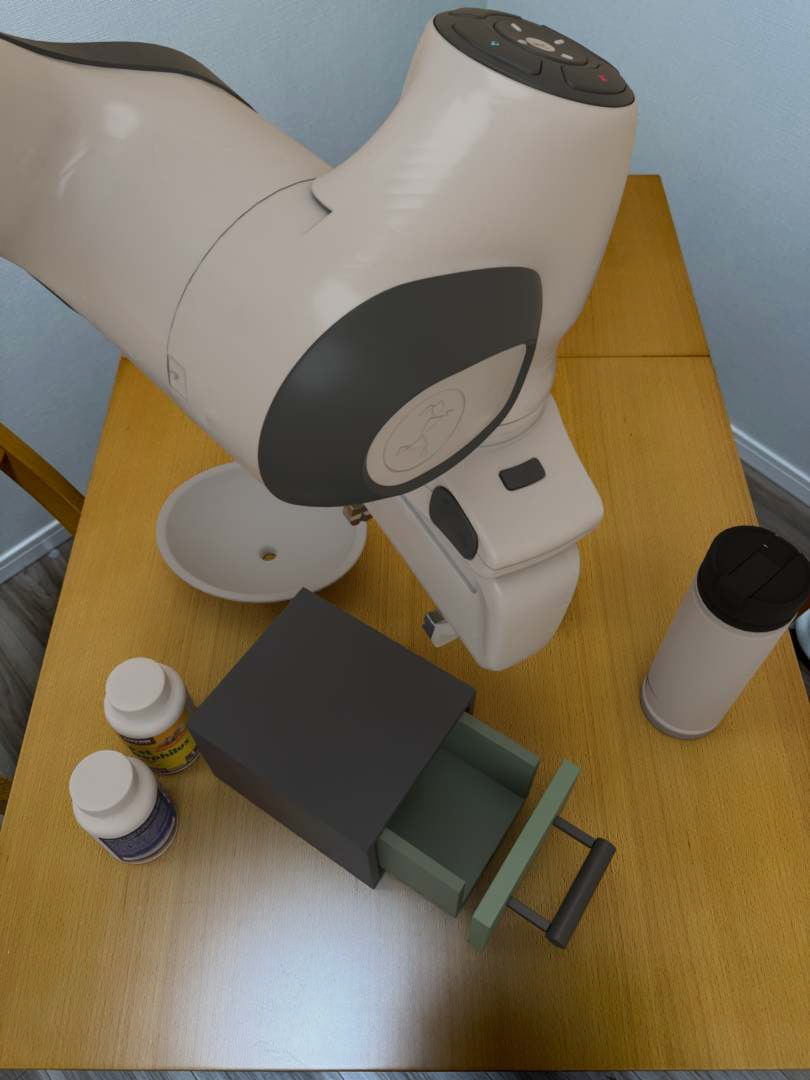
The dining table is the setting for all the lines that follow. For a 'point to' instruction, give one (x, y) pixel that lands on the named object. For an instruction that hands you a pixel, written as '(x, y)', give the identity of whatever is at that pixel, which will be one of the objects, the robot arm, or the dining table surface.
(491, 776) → the drawer
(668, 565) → the dining table surface
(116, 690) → the supplement bottle
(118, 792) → the pill bottle
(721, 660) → the travel mug
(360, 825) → the cabinet
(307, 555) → the dish
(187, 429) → the dining table surface
